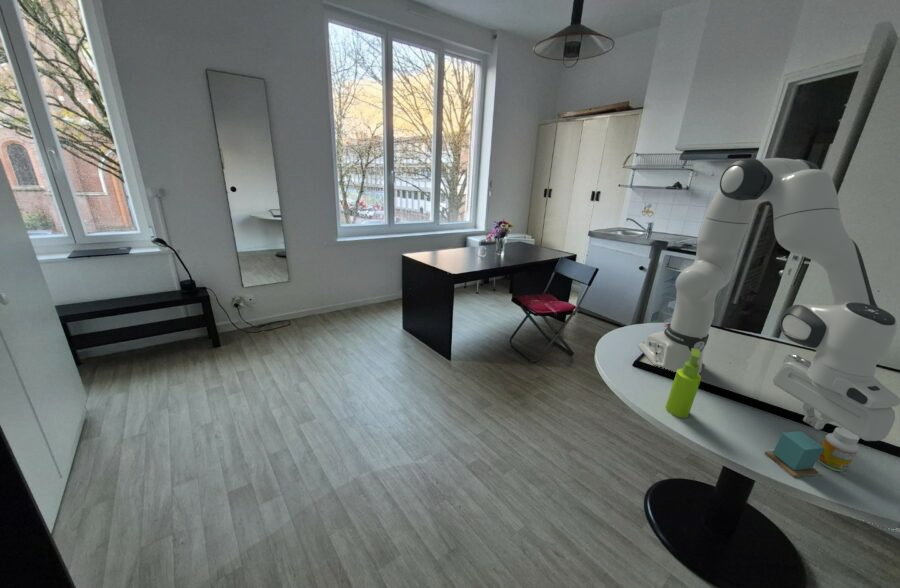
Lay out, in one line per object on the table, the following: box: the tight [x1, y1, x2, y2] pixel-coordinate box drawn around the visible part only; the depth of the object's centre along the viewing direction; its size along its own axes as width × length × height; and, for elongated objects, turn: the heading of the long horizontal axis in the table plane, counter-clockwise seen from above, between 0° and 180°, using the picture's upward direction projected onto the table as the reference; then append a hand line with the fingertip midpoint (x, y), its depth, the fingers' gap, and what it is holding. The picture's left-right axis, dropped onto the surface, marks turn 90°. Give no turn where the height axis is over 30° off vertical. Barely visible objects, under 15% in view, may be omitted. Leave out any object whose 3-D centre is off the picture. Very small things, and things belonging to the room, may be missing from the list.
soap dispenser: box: [665, 348, 702, 419], centre depth 98 cm, size 6×7×20 cm
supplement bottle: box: [817, 426, 861, 472], centre depth 83 cm, size 5×5×10 cm
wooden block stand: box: [764, 450, 820, 478], centre depth 83 cm, size 7×7×7 cm
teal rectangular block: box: [772, 430, 824, 470], centre depth 83 cm, size 5×5×7 cm
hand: (812, 425), depth 79 cm, fingers closed
